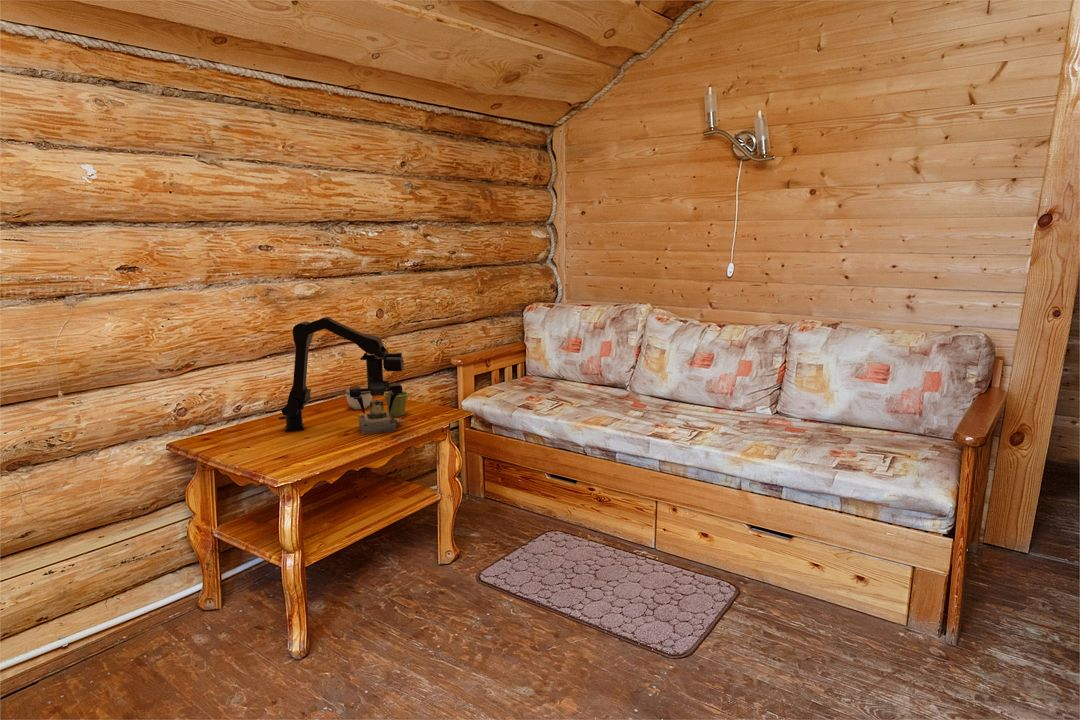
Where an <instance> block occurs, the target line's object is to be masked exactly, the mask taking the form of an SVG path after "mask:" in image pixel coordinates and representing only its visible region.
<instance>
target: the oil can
mask: <svg viewBox="0 0 1080 720" xmlns="http://www.w3.org/2000/svg"><path fill="white" fill-rule="evenodd" d="M368 407H369V413H370V419H376V418H384V412H385V411H384V400H382V399H378V398H377V399H372V400H371V401H369V406H368Z"/></svg>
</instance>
